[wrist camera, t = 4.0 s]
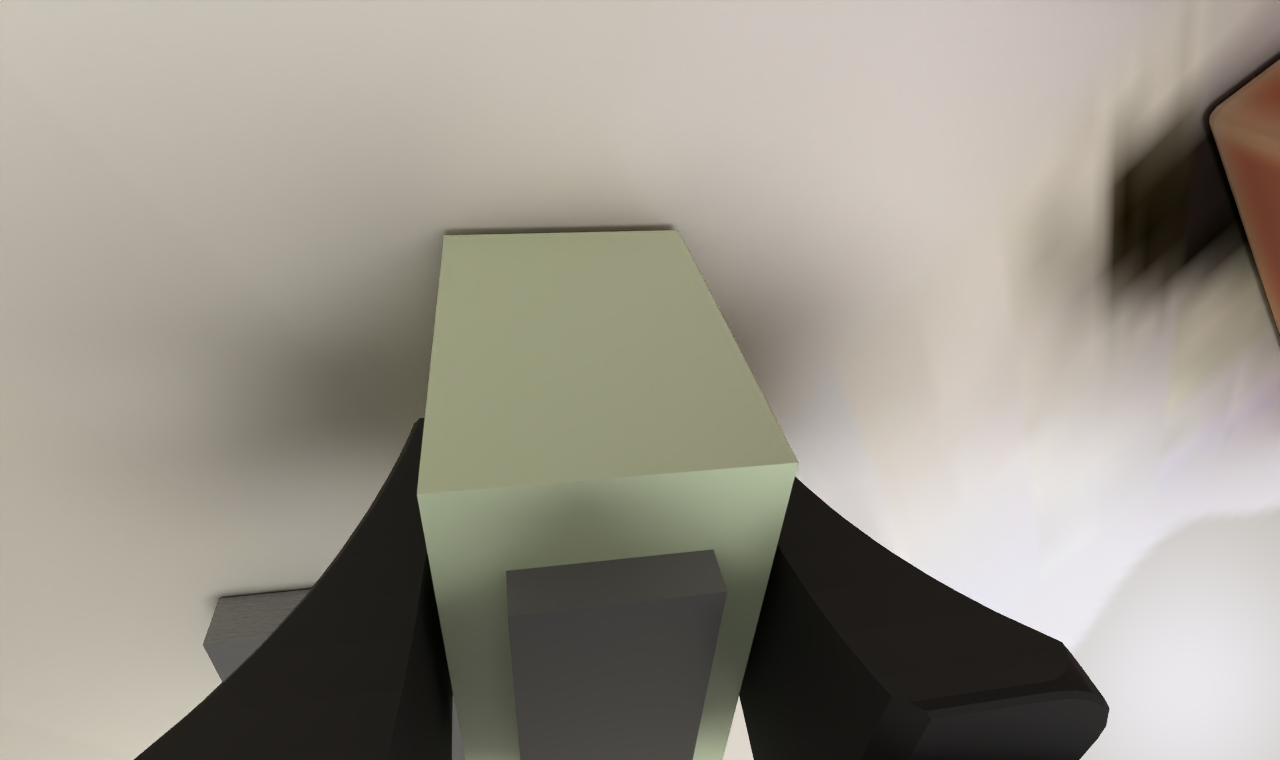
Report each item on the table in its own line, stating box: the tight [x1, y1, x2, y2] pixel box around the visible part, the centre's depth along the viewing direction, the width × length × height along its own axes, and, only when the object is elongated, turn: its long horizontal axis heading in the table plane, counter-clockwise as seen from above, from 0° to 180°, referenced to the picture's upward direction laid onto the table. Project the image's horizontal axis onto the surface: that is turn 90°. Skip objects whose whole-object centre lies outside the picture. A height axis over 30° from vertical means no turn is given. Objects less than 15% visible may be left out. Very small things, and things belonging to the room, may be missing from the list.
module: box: [417, 230, 798, 760], centre depth 12 cm, size 4×7×7 cm, turn 177°
